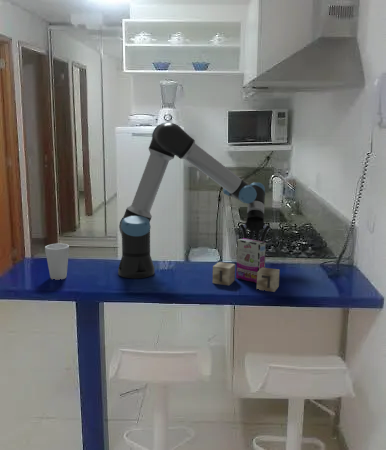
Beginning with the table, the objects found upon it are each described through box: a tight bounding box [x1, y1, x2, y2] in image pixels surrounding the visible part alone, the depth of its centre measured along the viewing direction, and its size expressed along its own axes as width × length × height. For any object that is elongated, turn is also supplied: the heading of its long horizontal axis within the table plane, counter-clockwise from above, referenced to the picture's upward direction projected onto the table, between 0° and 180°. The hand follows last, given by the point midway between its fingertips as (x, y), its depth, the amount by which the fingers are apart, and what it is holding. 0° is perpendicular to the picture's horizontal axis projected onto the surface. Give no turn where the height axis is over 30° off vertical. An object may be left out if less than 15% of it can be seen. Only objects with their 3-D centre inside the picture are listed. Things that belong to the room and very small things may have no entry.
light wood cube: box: [256, 267, 280, 293], centre depth 188 cm, size 7×7×7 cm
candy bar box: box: [235, 237, 267, 284], centre depth 196 cm, size 11×5×16 cm, turn 48°
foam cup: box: [44, 243, 70, 281], centre depth 197 cm, size 10×9×13 cm
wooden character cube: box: [212, 261, 236, 286], centre depth 195 cm, size 7×7×7 cm
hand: (253, 259), depth 204 cm, fingers closed
